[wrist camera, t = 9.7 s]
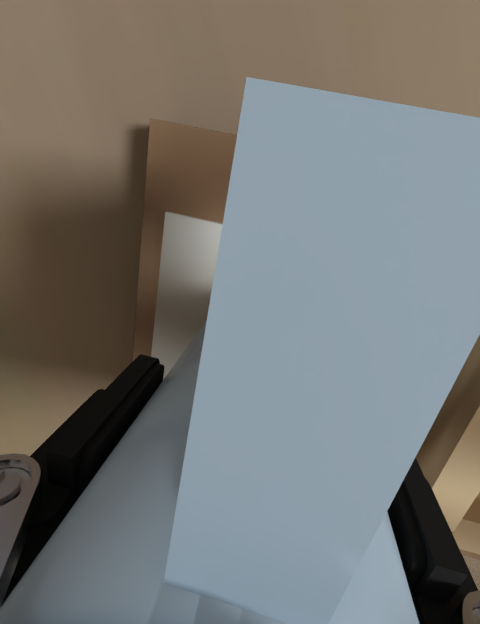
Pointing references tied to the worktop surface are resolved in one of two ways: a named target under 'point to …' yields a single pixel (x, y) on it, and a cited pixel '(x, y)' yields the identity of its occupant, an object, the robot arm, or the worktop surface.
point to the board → (181, 237)
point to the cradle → (457, 455)
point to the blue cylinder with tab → (290, 383)
